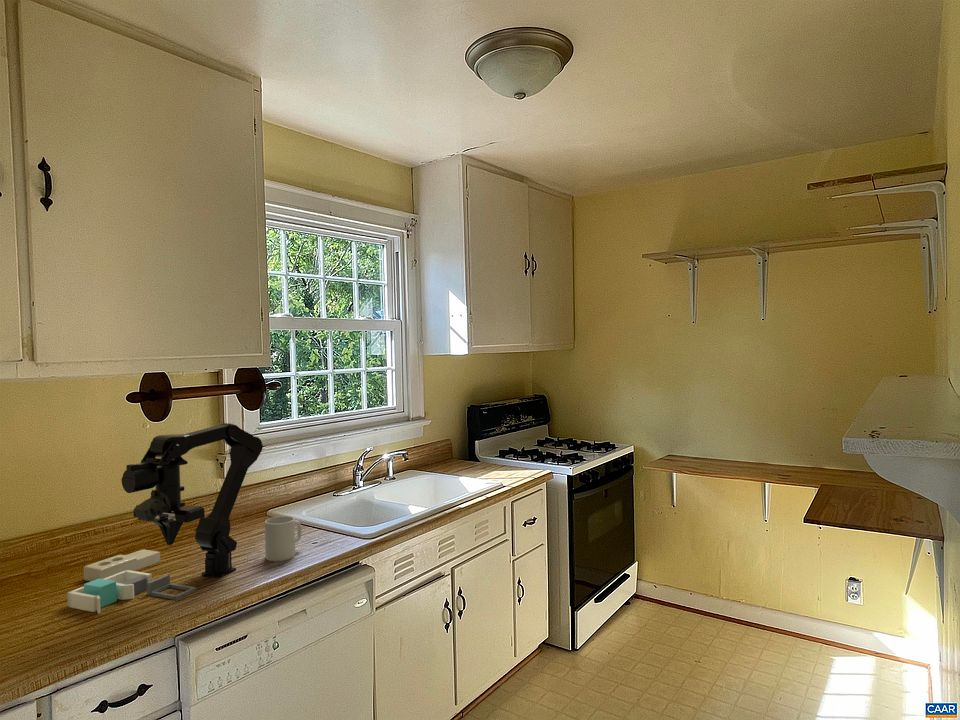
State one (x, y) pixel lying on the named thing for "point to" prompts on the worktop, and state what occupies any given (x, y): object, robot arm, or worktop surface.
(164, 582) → the grey rectangular frame stand
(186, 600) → the worktop surface
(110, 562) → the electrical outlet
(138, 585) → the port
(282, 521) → the mug
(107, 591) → the plug
